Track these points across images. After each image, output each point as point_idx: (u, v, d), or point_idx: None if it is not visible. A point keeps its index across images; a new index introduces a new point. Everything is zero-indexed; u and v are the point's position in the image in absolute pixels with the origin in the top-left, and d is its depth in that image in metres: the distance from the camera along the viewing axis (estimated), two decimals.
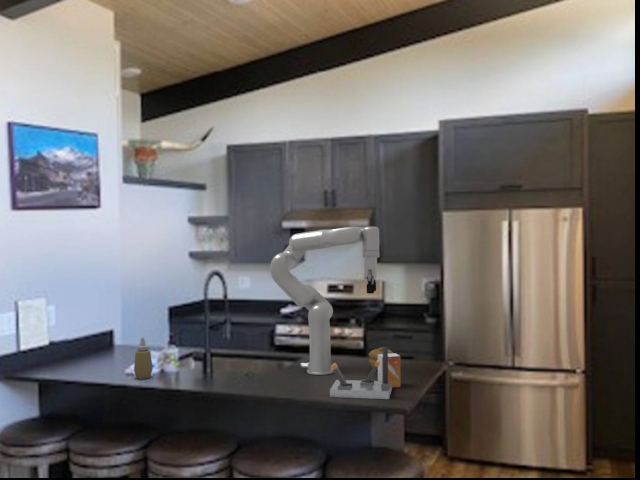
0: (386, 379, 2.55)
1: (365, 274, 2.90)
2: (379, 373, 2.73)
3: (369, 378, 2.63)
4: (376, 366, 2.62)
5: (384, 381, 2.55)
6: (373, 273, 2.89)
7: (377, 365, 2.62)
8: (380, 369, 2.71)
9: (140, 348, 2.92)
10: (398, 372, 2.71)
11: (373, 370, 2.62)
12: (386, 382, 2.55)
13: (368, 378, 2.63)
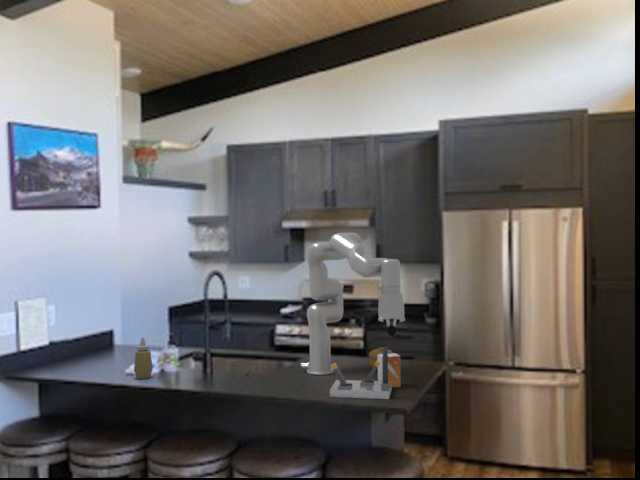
0: (386, 379, 2.55)
1: (403, 312, 2.59)
2: (379, 373, 2.73)
3: (369, 378, 2.63)
4: (376, 366, 2.62)
5: (384, 381, 2.55)
6: None
7: (377, 365, 2.62)
8: (380, 369, 2.71)
9: (140, 348, 2.92)
10: (398, 372, 2.71)
11: (373, 370, 2.62)
12: (386, 382, 2.55)
13: (368, 378, 2.63)
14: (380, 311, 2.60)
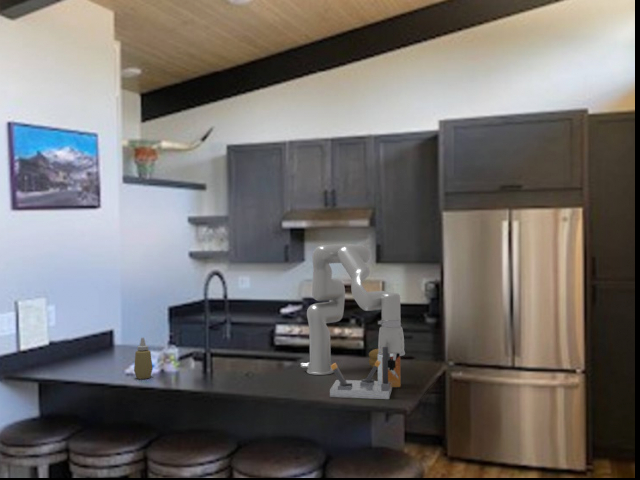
0: (386, 379, 2.55)
1: (403, 346, 2.59)
2: (379, 373, 2.73)
3: (369, 378, 2.63)
4: (376, 366, 2.62)
5: (384, 381, 2.55)
6: None
7: (377, 365, 2.62)
8: (380, 369, 2.71)
9: (140, 348, 2.92)
10: (398, 372, 2.71)
11: (373, 370, 2.62)
12: (386, 382, 2.55)
13: (368, 378, 2.63)
14: (380, 345, 2.60)
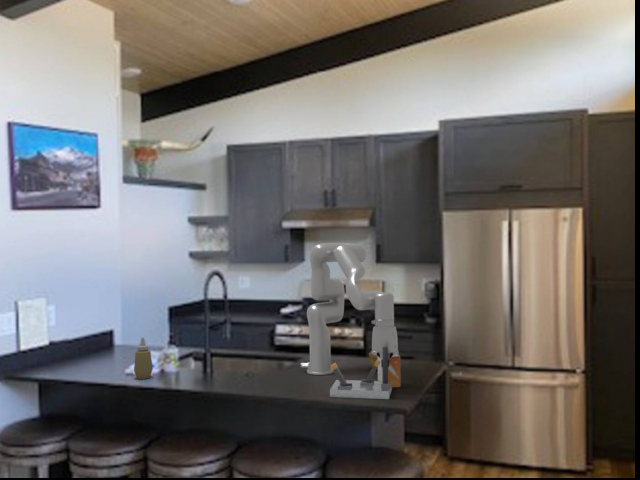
0: (386, 379, 2.55)
1: (397, 346, 2.60)
2: (379, 373, 2.73)
3: (369, 378, 2.63)
4: (376, 366, 2.62)
5: (384, 381, 2.55)
6: None
7: (377, 365, 2.62)
8: (380, 369, 2.71)
9: (140, 348, 2.92)
10: (398, 372, 2.71)
11: (373, 370, 2.62)
12: (386, 382, 2.55)
13: (368, 378, 2.63)
14: (374, 345, 2.61)
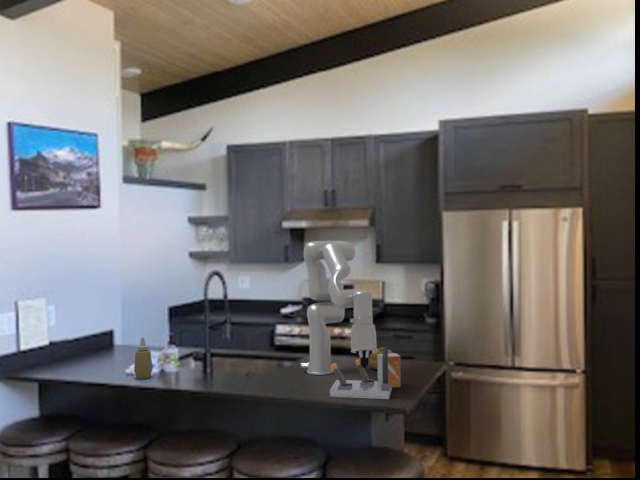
0: (386, 379, 2.55)
1: (375, 343, 2.61)
2: (379, 373, 2.73)
3: (365, 377, 2.63)
4: (359, 364, 2.63)
5: (384, 381, 2.55)
6: None
7: (358, 363, 2.63)
8: (380, 369, 2.71)
9: (140, 348, 2.92)
10: (398, 372, 2.71)
11: (360, 369, 2.63)
12: (386, 382, 2.55)
13: (364, 378, 2.63)
14: (352, 343, 2.62)
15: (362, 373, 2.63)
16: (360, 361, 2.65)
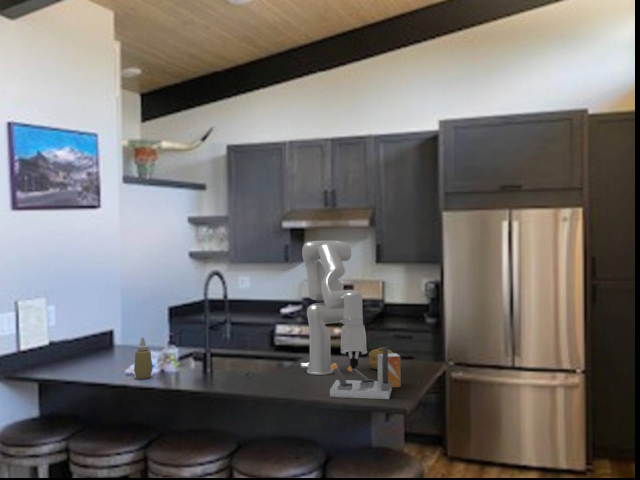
0: (386, 379, 2.55)
1: (365, 345, 2.62)
2: (379, 373, 2.73)
3: (363, 379, 2.63)
4: (352, 370, 2.64)
5: (384, 381, 2.55)
6: None
7: (351, 368, 2.64)
8: (380, 369, 2.71)
9: (140, 348, 2.92)
10: (398, 372, 2.71)
11: (355, 373, 2.64)
12: (386, 382, 2.55)
13: (363, 380, 2.63)
14: (342, 344, 2.63)
15: (358, 376, 2.63)
16: None
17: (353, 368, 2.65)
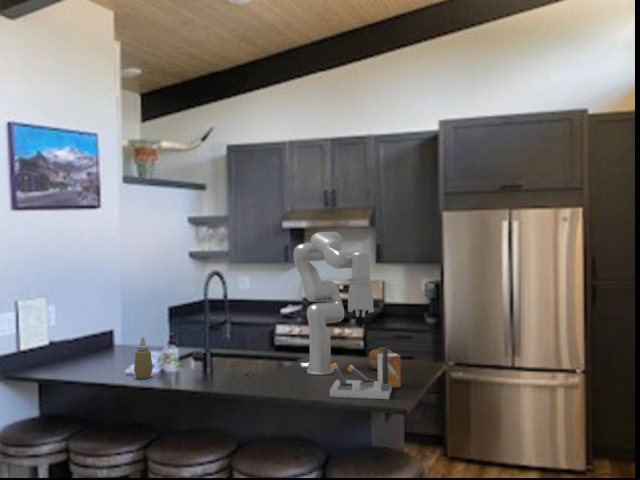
0: (386, 379, 2.55)
1: (372, 303, 2.67)
2: (379, 373, 2.73)
3: (363, 379, 2.63)
4: (352, 370, 2.64)
5: (384, 381, 2.55)
6: None
7: (351, 368, 2.64)
8: (380, 369, 2.71)
9: (140, 348, 2.92)
10: (398, 372, 2.71)
11: (355, 373, 2.64)
12: (386, 382, 2.55)
13: (363, 380, 2.63)
14: (349, 302, 2.68)
15: (358, 376, 2.63)
16: (352, 366, 2.66)
17: (353, 368, 2.65)
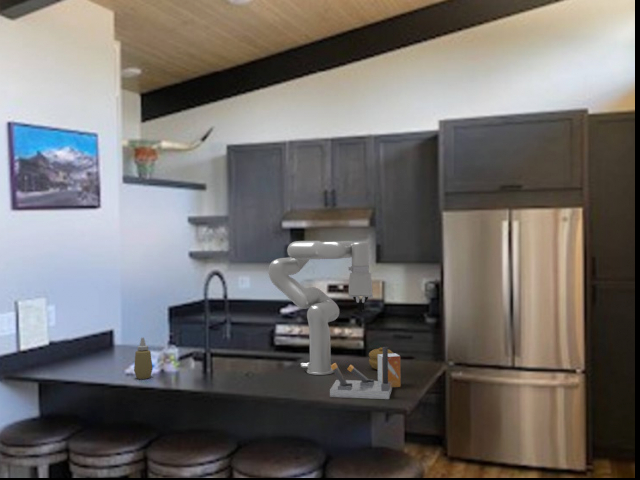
0: (386, 379, 2.55)
1: (371, 290, 2.85)
2: (379, 373, 2.73)
3: (363, 379, 2.63)
4: (352, 370, 2.64)
5: (384, 381, 2.55)
6: None
7: (351, 368, 2.64)
8: (380, 369, 2.71)
9: (140, 348, 2.92)
10: (398, 372, 2.71)
11: (355, 373, 2.64)
12: (386, 382, 2.55)
13: (363, 380, 2.63)
14: (350, 289, 2.86)
15: (358, 376, 2.63)
16: (352, 366, 2.66)
17: (353, 368, 2.65)
